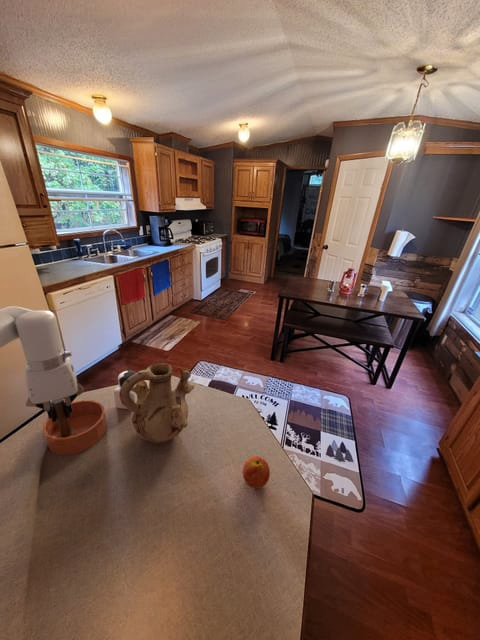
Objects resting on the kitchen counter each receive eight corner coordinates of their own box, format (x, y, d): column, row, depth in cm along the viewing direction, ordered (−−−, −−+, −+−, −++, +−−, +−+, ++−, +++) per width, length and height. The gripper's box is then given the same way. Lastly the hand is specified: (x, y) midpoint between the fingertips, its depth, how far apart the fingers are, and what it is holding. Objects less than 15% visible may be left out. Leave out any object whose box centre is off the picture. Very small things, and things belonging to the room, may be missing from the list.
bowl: (45, 464, 67) (40, 448, 64) (49, 424, 79) (45, 409, 76) (109, 442, 74) (106, 426, 72) (104, 408, 86) (101, 394, 84)
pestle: (58, 447, 70) (47, 408, 65) (58, 436, 74) (47, 398, 68) (76, 441, 73) (67, 402, 67) (76, 430, 76) (67, 393, 71)
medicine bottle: (145, 396, 93) (142, 369, 88) (135, 410, 86) (132, 381, 82) (126, 394, 93) (122, 367, 89) (115, 407, 87) (111, 379, 82)
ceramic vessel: (187, 460, 71) (187, 387, 61) (117, 460, 69) (105, 386, 59) (194, 412, 88) (194, 349, 78) (137, 412, 86) (130, 348, 76)
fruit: (250, 464, 71) (252, 443, 68) (272, 477, 68) (276, 456, 65) (236, 484, 66) (239, 463, 62) (260, 500, 62) (264, 478, 59)
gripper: (84, 346, 70) (94, 399, 77) (7, 359, 62) (26, 417, 69) (85, 359, 64) (96, 415, 71) (0, 376, 56) (22, 437, 63)
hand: (61, 416), depth 70 cm, fingers closed on pestle, 2 cm apart
